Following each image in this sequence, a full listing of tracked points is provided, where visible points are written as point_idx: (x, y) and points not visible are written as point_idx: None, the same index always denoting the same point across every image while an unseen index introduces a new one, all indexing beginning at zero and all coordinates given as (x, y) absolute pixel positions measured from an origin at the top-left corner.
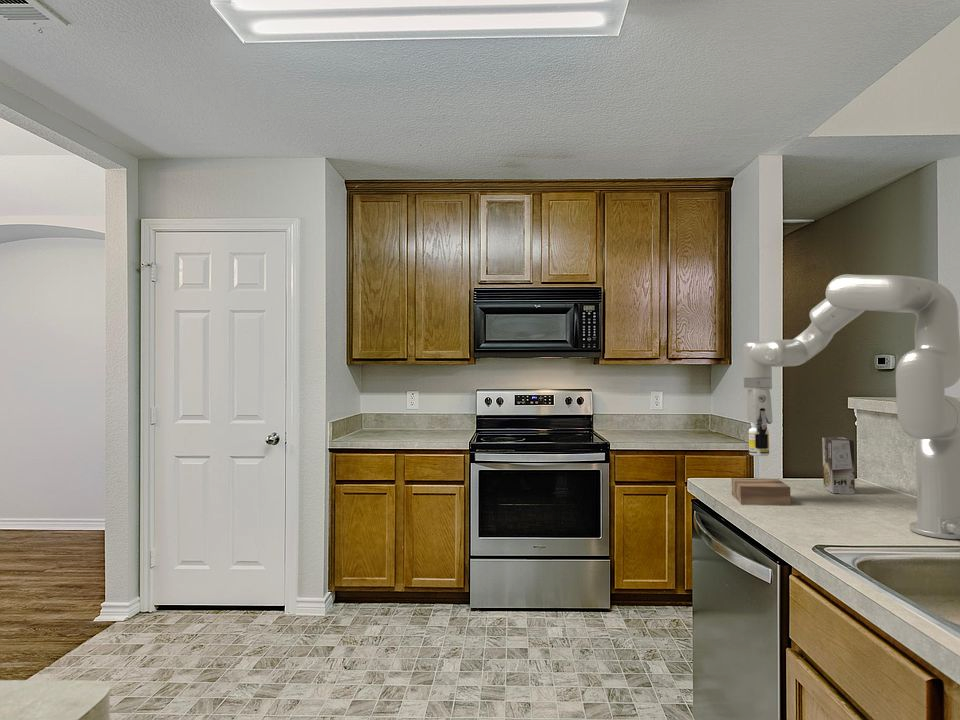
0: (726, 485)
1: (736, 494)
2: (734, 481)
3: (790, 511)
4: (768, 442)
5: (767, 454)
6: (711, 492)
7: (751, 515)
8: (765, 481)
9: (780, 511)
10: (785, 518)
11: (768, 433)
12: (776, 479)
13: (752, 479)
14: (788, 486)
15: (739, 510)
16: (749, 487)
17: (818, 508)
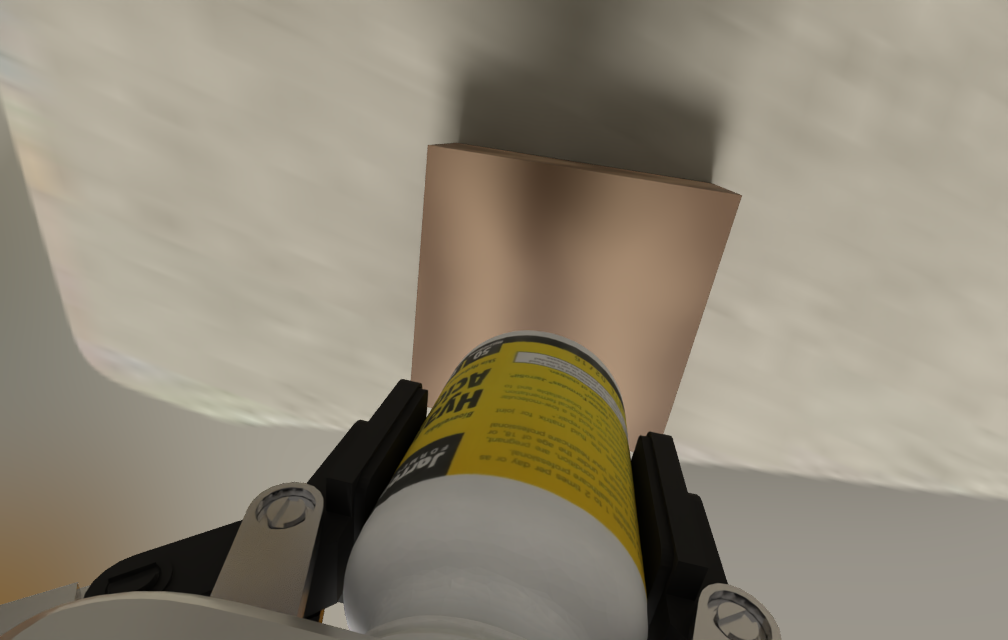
0: (213, 297)
1: None
2: None
3: (850, 249)
4: (596, 423)
5: (611, 374)
6: None
7: (871, 452)
8: (519, 266)
9: (834, 298)
10: (990, 342)
11: (587, 503)
12: (451, 164)
13: (448, 312)
14: (712, 195)
15: (761, 456)
16: (667, 416)
17: (827, 50)
